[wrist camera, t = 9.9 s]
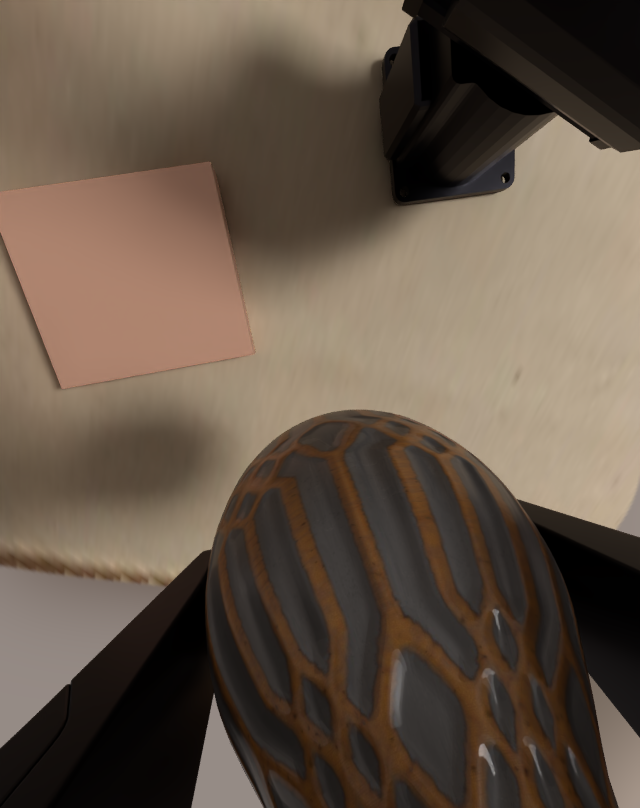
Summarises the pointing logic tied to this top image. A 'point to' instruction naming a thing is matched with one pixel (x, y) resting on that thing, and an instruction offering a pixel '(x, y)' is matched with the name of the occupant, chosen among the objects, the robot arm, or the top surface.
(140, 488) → the top surface
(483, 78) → the robot arm
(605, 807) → the vase
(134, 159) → the top surface
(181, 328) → the tile
